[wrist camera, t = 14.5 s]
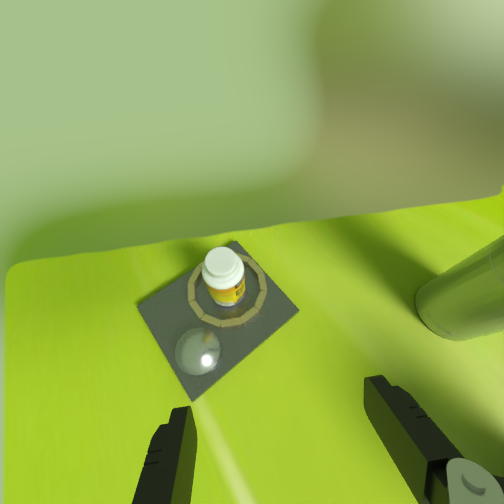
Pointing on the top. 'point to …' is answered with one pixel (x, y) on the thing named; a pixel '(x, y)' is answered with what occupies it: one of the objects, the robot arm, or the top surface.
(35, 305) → the top surface
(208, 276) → the supplement bottle
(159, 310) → the carrier plate
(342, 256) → the top surface
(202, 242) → the top surface
